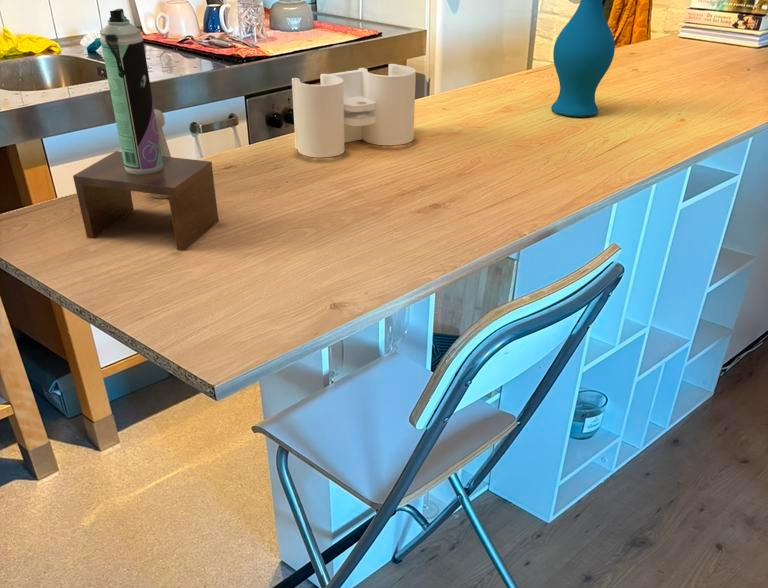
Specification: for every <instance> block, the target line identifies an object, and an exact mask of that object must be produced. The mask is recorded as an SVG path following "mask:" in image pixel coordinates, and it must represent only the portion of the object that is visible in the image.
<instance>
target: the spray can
mask: <svg viewBox="0 0 768 588" xmlns="http://www.w3.org/2000/svg"><path fill="white" fill-rule="evenodd" d="M109 14H110V17H109V18H108V20H107V24H106V25H105V26H104V27H103V28H102V29H100V30H99V35H101V36H100V37H99V40H100V45H101V51H102V57H103V60H104V66H105V70H106V71H105V72H106V76H107V83H108V87H109V92H110V98H111V103H112V109H113V114H114V119H115V125H116V130H117V135H118V140H119V146H120V152H122V156H123V162H124V167H125V170H126V171H127V172H128V173H132V174H151V173H155V172H158V171H160V170H162V169H163V162H162V156H161V149H160V143H159V137H158V130H157V124H156V118H155V111H154V109H155V105H154V100H153V94H152V87H151V82H150V81H151V80H150V74H149V68H148V67H149V66H148V62H147V56H146V49H145V42H144V37H143V35H142V34H141V33H142V29H140V28H139V27H137V26H135V25H134V24H132V23H131V21H130V19H128V18H127V16H125V11H124V9H123V8H116V9H113V10H109Z"/></svg>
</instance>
